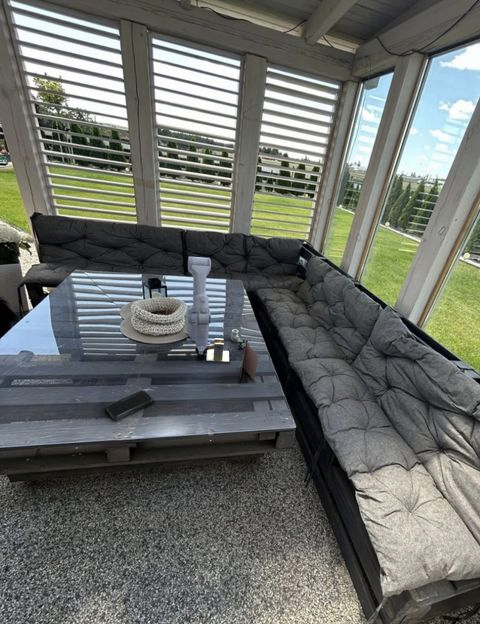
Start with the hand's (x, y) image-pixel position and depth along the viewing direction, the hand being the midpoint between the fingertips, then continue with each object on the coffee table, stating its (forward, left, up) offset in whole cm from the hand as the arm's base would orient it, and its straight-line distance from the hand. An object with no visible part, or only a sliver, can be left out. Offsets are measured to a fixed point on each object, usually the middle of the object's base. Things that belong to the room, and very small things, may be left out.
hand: (201, 357), depth 144 cm
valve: (+1, +23, +1) cm, 23 cm away
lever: (+3, +4, +5) cm, 7 cm away
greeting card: (+24, +10, +1) cm, 26 cm away
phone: (+13, -40, +1) cm, 42 cm away
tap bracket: (+5, +7, +1) cm, 8 cm away
